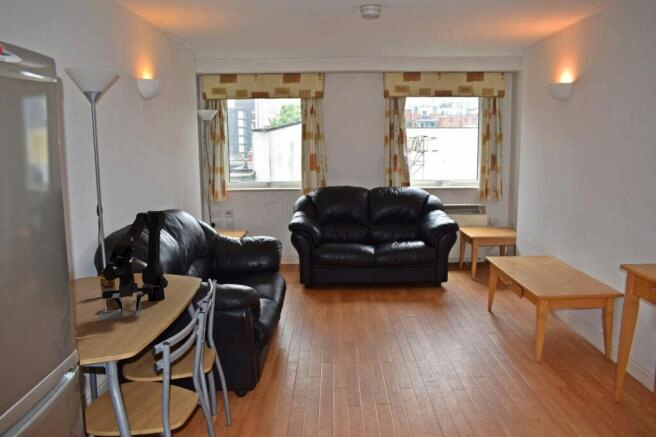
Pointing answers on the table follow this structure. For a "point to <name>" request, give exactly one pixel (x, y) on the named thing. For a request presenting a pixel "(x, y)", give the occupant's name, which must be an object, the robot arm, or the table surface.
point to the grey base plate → (115, 313)
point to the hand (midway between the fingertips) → (130, 312)
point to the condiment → (106, 283)
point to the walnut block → (112, 305)
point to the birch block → (129, 307)
